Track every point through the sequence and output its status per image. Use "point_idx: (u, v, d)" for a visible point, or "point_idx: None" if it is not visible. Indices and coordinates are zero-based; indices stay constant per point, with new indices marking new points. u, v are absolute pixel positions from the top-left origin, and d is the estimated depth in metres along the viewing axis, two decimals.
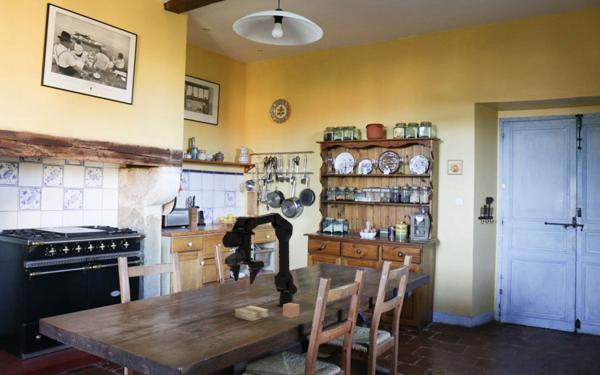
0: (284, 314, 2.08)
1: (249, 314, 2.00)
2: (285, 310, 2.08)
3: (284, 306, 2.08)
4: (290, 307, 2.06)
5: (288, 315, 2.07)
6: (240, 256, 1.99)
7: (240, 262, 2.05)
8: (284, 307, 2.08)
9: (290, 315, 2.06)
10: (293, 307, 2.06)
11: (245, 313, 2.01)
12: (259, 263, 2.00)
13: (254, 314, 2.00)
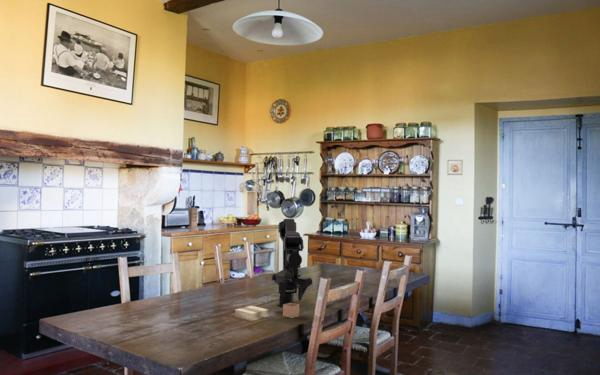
0: (284, 314, 2.08)
1: (249, 314, 2.00)
2: (285, 310, 2.08)
3: (284, 306, 2.08)
4: (290, 307, 2.06)
5: (288, 315, 2.07)
6: (290, 274, 2.02)
7: None
8: (284, 307, 2.08)
9: (290, 315, 2.06)
10: (293, 307, 2.06)
11: (245, 313, 2.01)
12: (308, 280, 2.03)
13: (254, 314, 2.00)
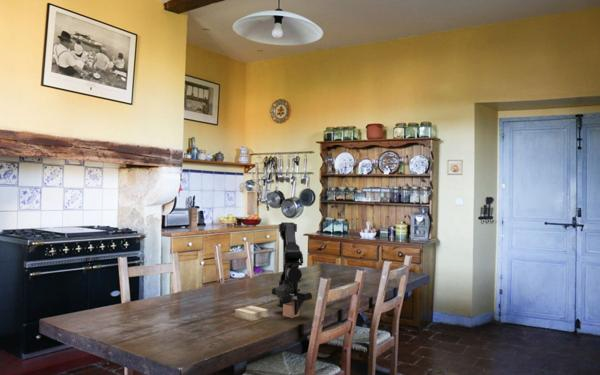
0: (284, 314, 2.08)
1: (249, 314, 2.00)
2: (285, 310, 2.08)
3: (284, 306, 2.08)
4: (290, 307, 2.06)
5: (288, 315, 2.07)
6: (289, 288, 2.02)
7: (291, 294, 2.07)
8: (284, 307, 2.08)
9: (290, 315, 2.06)
10: (293, 307, 2.07)
11: (245, 313, 2.01)
12: (308, 295, 2.03)
13: (254, 314, 2.00)
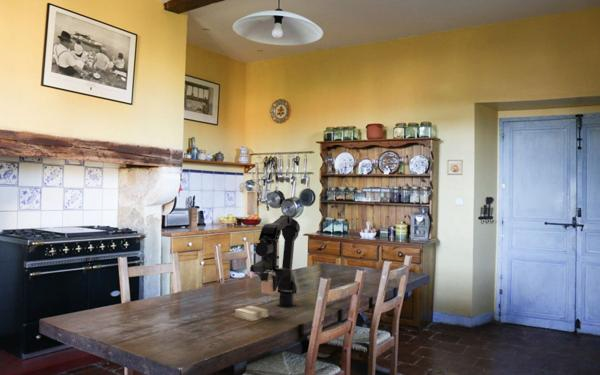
0: (262, 291, 2.06)
1: (249, 314, 2.00)
2: (263, 286, 2.06)
3: (262, 282, 2.06)
4: (269, 283, 2.04)
5: (266, 291, 2.05)
6: (268, 264, 2.00)
7: (270, 270, 2.05)
8: (262, 283, 2.06)
9: (268, 291, 2.04)
10: (272, 283, 2.04)
11: (245, 313, 2.01)
12: (286, 271, 2.01)
13: (254, 314, 2.00)
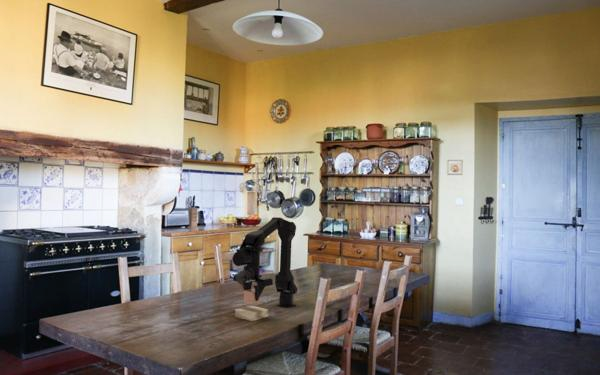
0: (245, 300, 2.05)
1: (249, 314, 2.00)
2: (246, 296, 2.05)
3: (245, 292, 2.05)
4: (251, 293, 2.03)
5: (249, 301, 2.04)
6: (249, 274, 1.99)
7: (252, 280, 2.04)
8: (245, 293, 2.05)
9: (250, 301, 2.03)
10: (254, 293, 2.04)
11: (245, 313, 2.01)
12: (268, 281, 2.00)
13: (254, 314, 2.00)
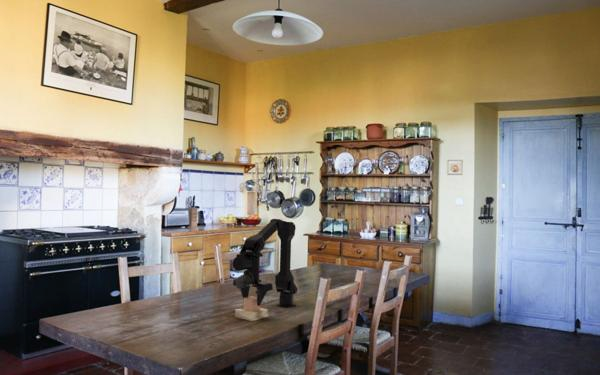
0: (245, 307, 2.05)
1: (249, 314, 2.00)
2: (245, 303, 2.05)
3: (245, 299, 2.05)
4: (250, 300, 2.03)
5: (248, 308, 2.04)
6: (249, 279, 1.99)
7: (249, 284, 2.05)
8: (245, 300, 2.05)
9: (250, 308, 2.03)
10: (253, 300, 2.04)
11: (245, 313, 2.01)
12: (268, 286, 2.00)
13: (254, 314, 2.00)
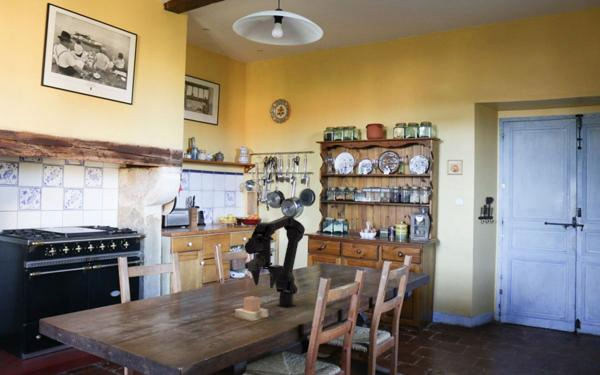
0: (245, 307, 2.05)
1: (249, 314, 2.00)
2: (245, 303, 2.05)
3: (245, 299, 2.05)
4: (250, 300, 2.03)
5: (248, 308, 2.04)
6: (261, 262, 2.05)
7: (260, 267, 2.12)
8: (245, 300, 2.05)
9: (250, 308, 2.03)
10: (253, 300, 2.04)
11: (245, 313, 2.01)
12: (279, 268, 2.07)
13: (254, 314, 2.00)
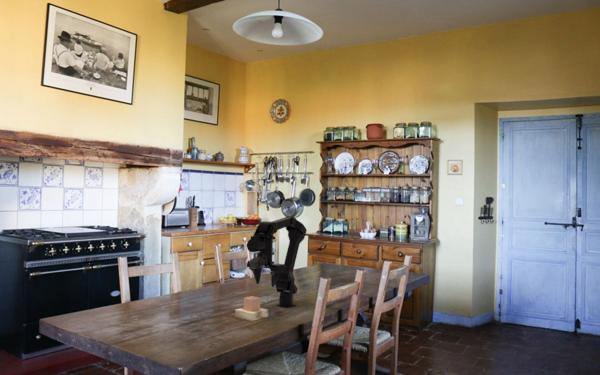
0: (245, 307, 2.05)
1: (249, 314, 2.00)
2: (245, 303, 2.05)
3: (245, 299, 2.05)
4: (250, 300, 2.03)
5: (248, 308, 2.04)
6: (262, 260, 2.06)
7: (262, 266, 2.13)
8: (245, 300, 2.05)
9: (250, 308, 2.03)
10: (253, 300, 2.04)
11: (245, 313, 2.01)
12: (281, 267, 2.08)
13: (254, 314, 2.00)
